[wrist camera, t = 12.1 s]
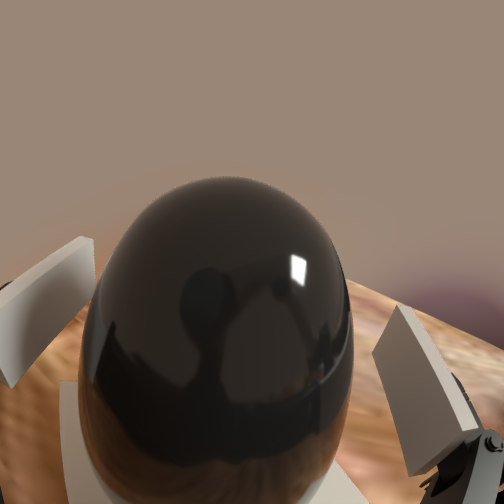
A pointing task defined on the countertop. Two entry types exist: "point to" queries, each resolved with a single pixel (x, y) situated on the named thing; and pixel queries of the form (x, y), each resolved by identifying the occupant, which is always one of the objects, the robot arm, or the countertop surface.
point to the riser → (95, 500)
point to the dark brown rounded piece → (217, 351)
